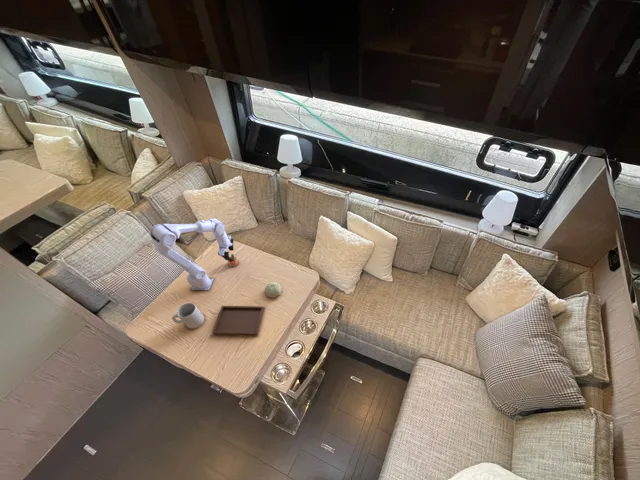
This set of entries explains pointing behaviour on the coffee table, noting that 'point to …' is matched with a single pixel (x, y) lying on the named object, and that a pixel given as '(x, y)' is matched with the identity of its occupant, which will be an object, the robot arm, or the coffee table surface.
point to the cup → (233, 262)
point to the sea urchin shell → (273, 289)
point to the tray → (238, 320)
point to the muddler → (232, 257)
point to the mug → (189, 315)
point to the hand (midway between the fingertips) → (229, 254)
